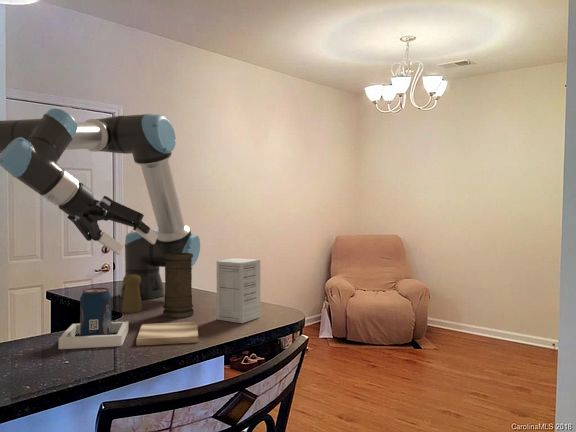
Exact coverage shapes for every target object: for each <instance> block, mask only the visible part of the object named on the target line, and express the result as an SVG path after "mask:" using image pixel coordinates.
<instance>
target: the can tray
mask: <svg viewBox="0 0 576 432" xmlns="http://www.w3.org/2000/svg"><path fill="white" fill-rule="evenodd" d="M129 325H130V324H129V321H128V320H127V321H111V335H95V336H80V323H71V325H70V326H69V327H68V328H67V329H66V330H65V331H64V332H62V334H61V336H60V337H58V350H69V349H71V350H73V349H74V350H75V349H89V348H91V349H92V348H107V347H109V348H111V347H122V346H123V343H124V341H125V339H126V337H127V335H128V332H129ZM114 333H115V334H114ZM76 334H77V335H79V336H77V335H76ZM75 335H76V336H75Z"/></svg>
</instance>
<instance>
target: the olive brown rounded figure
mask: <svg viewBox="0 0 576 432" xmlns="http://www.w3.org/2000/svg"><path fill="white" fill-rule="evenodd" d="M122 283H124V285H125V290H124V297H123V298H122V299H123V300H122V306H121V312H122V313H127V314H128V313H129V314H130V313H131V314H132V313H139V312H142V311H143V305H142V304H143V303H142V299H141V296H140V289H139V284H140V283H141V277H140V276H139V275H136V274H130V275H126V276H125V275H124V277H123V278H122Z"/></svg>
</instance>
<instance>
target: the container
mask: <svg viewBox="0 0 576 432" xmlns="http://www.w3.org/2000/svg"><path fill="white" fill-rule="evenodd" d="M164 258H165V259H166V260H165V267H164V296H163V297H164V305H163V311H162V314H163V317H166V318H173V319H175V318H176V319H179V318H188V317H191V316H193V315H194V311H195V310H194V309H193V307H194V305H193V295H192V287H193V286H192V279H193V277H192V276H193V275H192V269H193V266H192V267H191V262H192V259H191V258H193V254H191V253H168V254H164Z"/></svg>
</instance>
